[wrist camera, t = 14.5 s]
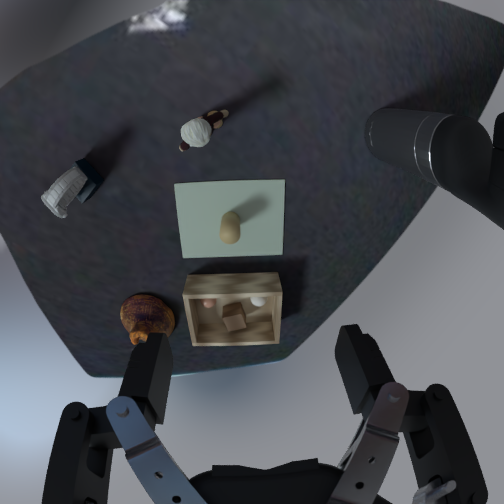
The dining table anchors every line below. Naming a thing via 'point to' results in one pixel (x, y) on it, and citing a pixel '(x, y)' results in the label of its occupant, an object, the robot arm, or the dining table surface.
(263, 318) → the box
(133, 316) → the brown rounded piece
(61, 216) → the watch
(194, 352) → the dining table surface
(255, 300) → the cream ball
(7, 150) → the dining table surface
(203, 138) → the grandmother figurine
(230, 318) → the walnut cube
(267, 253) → the lid
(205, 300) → the terracotta ball
